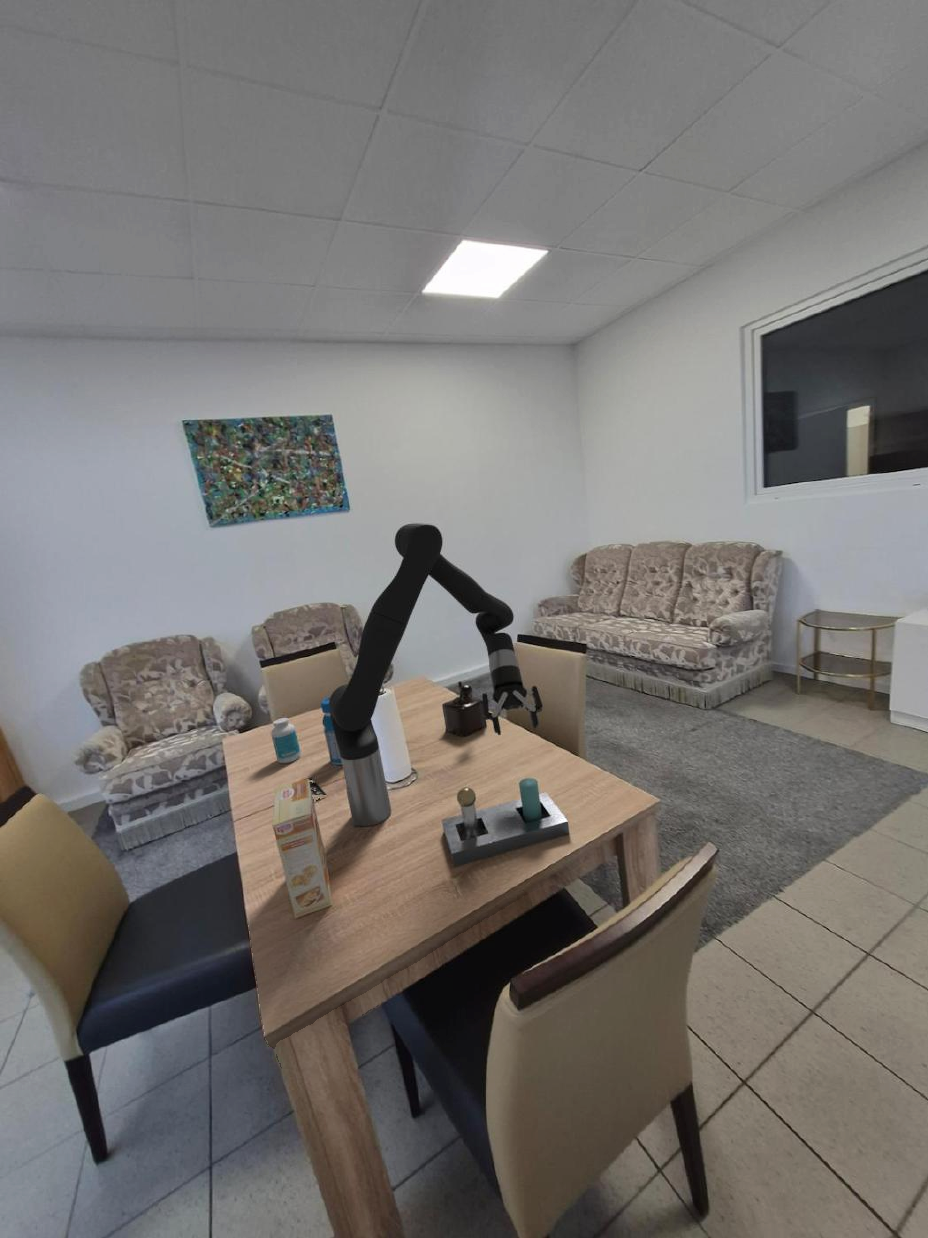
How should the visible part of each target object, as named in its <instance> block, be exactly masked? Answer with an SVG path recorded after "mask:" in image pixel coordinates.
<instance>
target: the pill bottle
mask: <svg viewBox="0 0 928 1238" xmlns="http://www.w3.org/2000/svg"><path fill="white" fill-rule="evenodd" d="M270 734H271V736H270V737H271V739H272V743H273V747H274V751H275V757H276V759H277V762H278V763H279V764H287V763H293V762H294V761H297V760H298V759H299V758H300V757H301V755H302V753H301V749H300V745H299V739H298V734H297V731H296V727H295V725H294V724H293V723H290V721H289V718H288V717H282V718H278V719H275V721H273V728H272V729H271V732H270Z"/></svg>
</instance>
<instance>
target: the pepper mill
mask: <svg viewBox="0 0 928 1238" xmlns="http://www.w3.org/2000/svg"><path fill="white" fill-rule="evenodd" d="M457 684H458V688H457V689H459V696H457V697H455V698H453V699H452V700H449V701H447V702H444V703H442V706H441V707H442V712H443V713H442V714H443V719H444V720H443V721H444V727H445V730H446V731H447V732H449V733H451V734H452V735H453V734H454V735H456V736H460V737H467V736H471V735H473V734H475V733H477V732H479V731H481V730H483V729H485V728H486V727H488V724H487V720H486V719H485V718H484V708H483V699H479V698H476V697H473V687H472V686H471V685H469V684H464V685H463V683H462V681H458V683H457Z"/></svg>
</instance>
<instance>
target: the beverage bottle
mask: <svg viewBox="0 0 928 1238" xmlns="http://www.w3.org/2000/svg"><path fill="white" fill-rule="evenodd" d="M329 700H330V697H327V698H325V699H323V700H321V702H320V707H321V710H322V713H323V714H324V715H323V717H322V723H321V724H322V726H323V727H324V728H323V734H324V736H325V737H324V738H325V741H326V745H327V751H328V754H329V759H330V763H331V764H332V765H336V766H338V765H339V766H340V765H342V761H341V756H340V752H339V748H338V745H337V742H336V738H335V734H334V729H333V725H332V721H331V716H330V711H329Z"/></svg>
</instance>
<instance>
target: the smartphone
mask: <svg viewBox="0 0 928 1238" xmlns="http://www.w3.org/2000/svg"><path fill="white" fill-rule="evenodd" d="M307 779H309V780H314V779H313V778H312V777H309V778H307ZM310 788H312V789H311V792H312V795H327V794H326V792H324V791H323V789H322V788H321V787H320V786H319V785H318V783H317V782H315V783H314V782H313V783H312V782H310ZM314 788H316V789H315V790H316V791H314ZM318 800H320V798H319V799H318ZM318 800H316V801H318ZM313 801H314V798H313ZM320 801H321V800H320ZM318 802H319V801H318Z"/></svg>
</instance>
